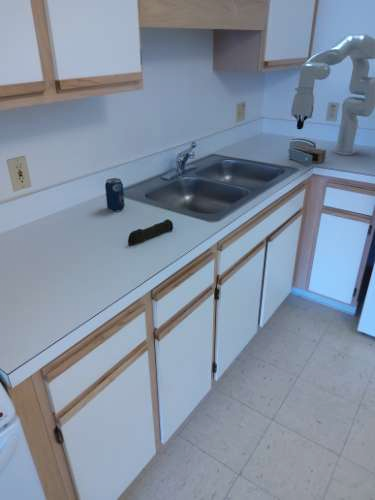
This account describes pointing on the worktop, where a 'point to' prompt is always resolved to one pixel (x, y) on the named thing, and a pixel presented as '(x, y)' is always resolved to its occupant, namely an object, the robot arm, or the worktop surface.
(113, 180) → the soda can
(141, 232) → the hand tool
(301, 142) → the grey arched panel
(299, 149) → the cabinet
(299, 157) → the door
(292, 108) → the robot arm
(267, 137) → the worktop surface
